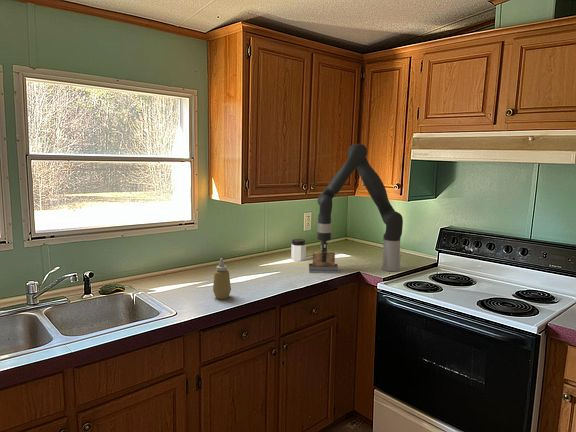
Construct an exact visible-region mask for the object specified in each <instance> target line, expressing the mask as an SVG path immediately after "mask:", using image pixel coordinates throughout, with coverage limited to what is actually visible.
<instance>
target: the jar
mask: <svg viewBox="0 0 576 432" xmlns="http://www.w3.org/2000/svg"><path fill="white" fill-rule="evenodd" d="M290 248H291V249H290V250H291V253H290V254H291V255H290V258H291V260H293V261H297V262H302V261H304V260H306V258H307V251H306V250H307V245H306V239H304V238H294V239H292V240H291V247H290Z"/></svg>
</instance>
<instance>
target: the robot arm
mask: <svg viewBox="0 0 576 432" xmlns="http://www.w3.org/2000/svg"><path fill="white" fill-rule="evenodd" d="M347 155H348V156H347V159H346V161H345V162H344V163H343V165H342V166H341V167H340V168H339V169H338V171H337V172H336V173H335V175H334V176H333V177H332V178H331V180H330V181H329V182H328V185H326V187H325V188H324V189H323V191H322V192H321V193H320V194H319V196H318V198H317V204H318V206H319V213H318V216H317V232H316V234H317V237H316V239H317V241H320V243H319V246H320V252H322V262H326V255H327V252H328V248H329V247H328V246H329V243H328V241H331V239H332V211H333V198H335V196H336V195H337V194H339V193H340V191H341V189H342V188H343V187H344V185H346V182H347V181H348V179H349V178H350V176H351V175H352V174H353V172H354V171H355V170H357V171H358V174H359V176H360V178H361V179H360V180H361V181H362V183H363V184H364V187H365V189H366V190H367V193H368V194H369V195H370V196H369V197H370V198H371V199H372V201H373V203H374V204H375V205H376V207H377V210H378V212H379V214H380V216H381V220H382V222H383V223H384V224H385V233H384V234H383V241H382V242H383V243H382V245H383V246H382V261H381V263H382V264H381V266H382V267H381V269H382V270H383V271H386V272H400V271H401V256H402V255H401V237H402V234H403V225H404V220H403V219H404V218H403V216H402V214H401V213H400V212H398V211H396V210H395V209H394V208H393V206H392V204H391V202H390V201H389V198H388V193H387V189H386V187H385V184H384V182H383V180H382V179H381V177H380V176H379V174H378V173H377V172H376V170H375V169H374V168H373V167H372V166H371V164H370V163H369V160H368V159H367V155H368V149H367V147H366V145H365V144H362V143H354V144H351V145H350V146H349V147H348V149H347ZM323 252H326V253H323Z"/></svg>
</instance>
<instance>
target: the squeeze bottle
mask: <svg viewBox="0 0 576 432" xmlns="http://www.w3.org/2000/svg"><path fill="white" fill-rule="evenodd" d="M215 269H216V270H215V271H214V273H213V283H212V284H213V285H212V292H213V294H214V298H215V299H217V300H225V299H228V298H229V297H230V293H231V290H232V287H231V279H230V271H229V270H228V267H227V265H225V263H224V258H223V257H221V258H220V259H219V263H218V265H216V268H215Z"/></svg>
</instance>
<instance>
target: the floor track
mask: <svg viewBox="0 0 576 432" xmlns="http://www.w3.org/2000/svg"><path fill="white" fill-rule="evenodd" d="M339 272H340V271H339V263H335V267H332V266H313V262H312V263H310V262H309V263H308V273H310V274H339Z"/></svg>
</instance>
